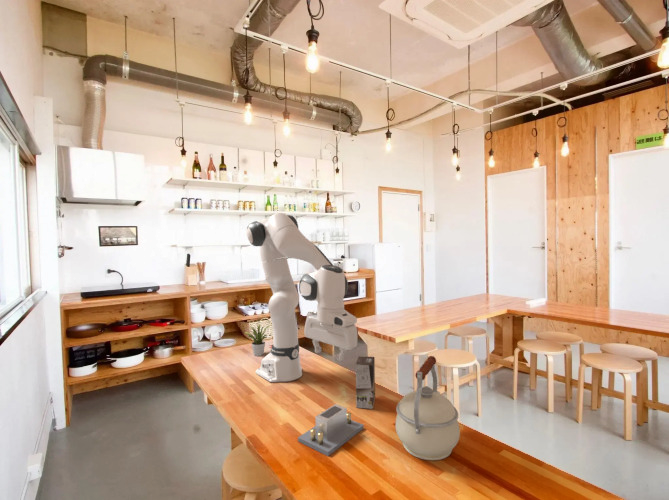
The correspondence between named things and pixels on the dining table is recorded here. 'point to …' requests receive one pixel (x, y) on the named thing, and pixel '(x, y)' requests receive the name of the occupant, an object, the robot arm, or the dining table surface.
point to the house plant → (258, 341)
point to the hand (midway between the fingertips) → (328, 356)
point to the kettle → (427, 419)
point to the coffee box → (365, 382)
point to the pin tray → (335, 441)
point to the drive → (331, 421)
